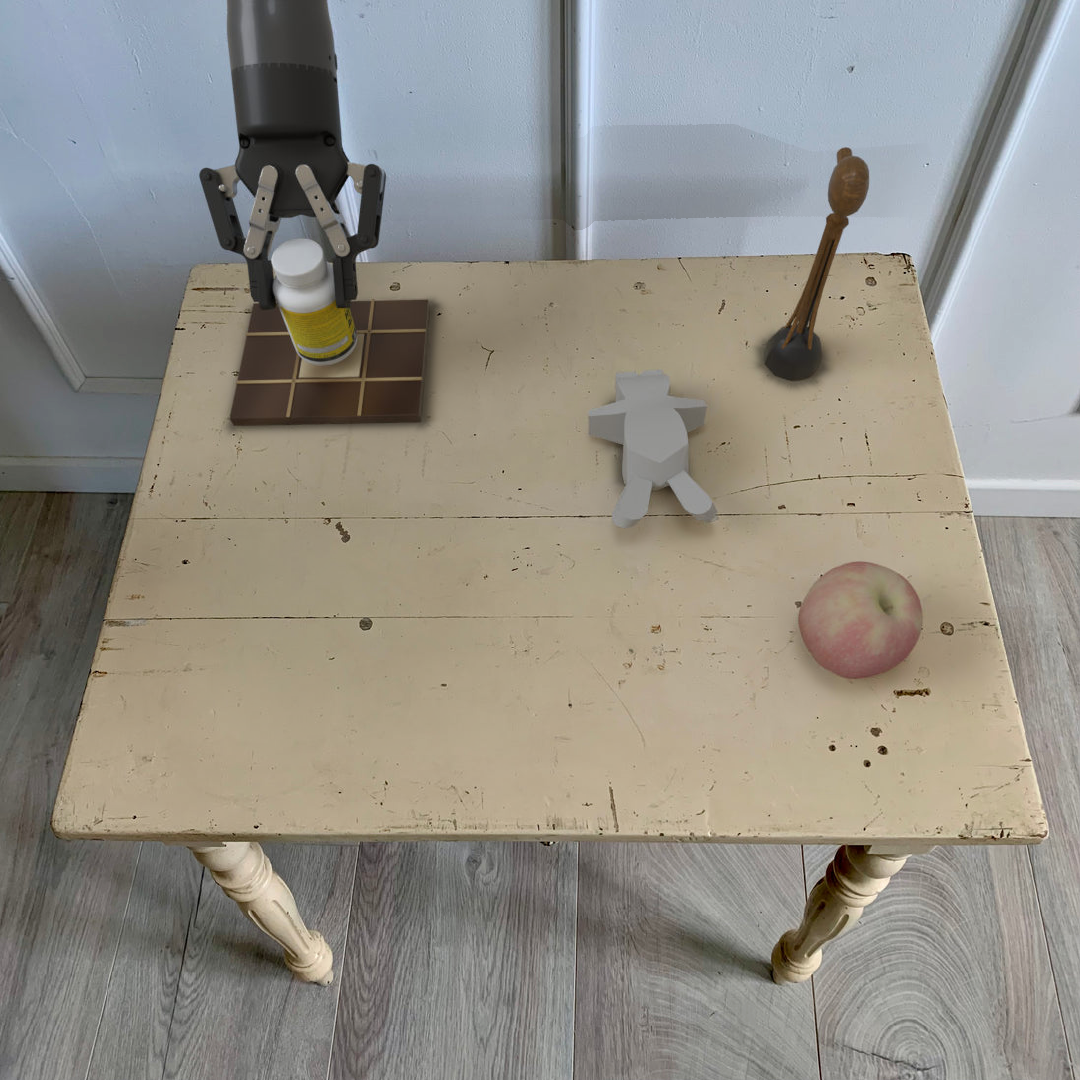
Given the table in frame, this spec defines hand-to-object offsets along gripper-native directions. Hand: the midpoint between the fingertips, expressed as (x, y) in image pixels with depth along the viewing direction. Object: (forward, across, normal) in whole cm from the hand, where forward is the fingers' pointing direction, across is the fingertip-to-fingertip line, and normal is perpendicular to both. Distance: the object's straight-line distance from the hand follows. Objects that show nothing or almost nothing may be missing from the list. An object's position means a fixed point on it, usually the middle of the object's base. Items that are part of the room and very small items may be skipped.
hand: (306, 307), depth 70 cm
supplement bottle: (+3, 0, +6) cm, 7 cm away
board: (+5, 0, +7) cm, 9 cm away
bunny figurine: (+13, +27, 0) cm, 30 cm away
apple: (+24, +40, -12) cm, 48 cm away
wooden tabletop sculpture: (+5, +40, +7) cm, 41 cm away
